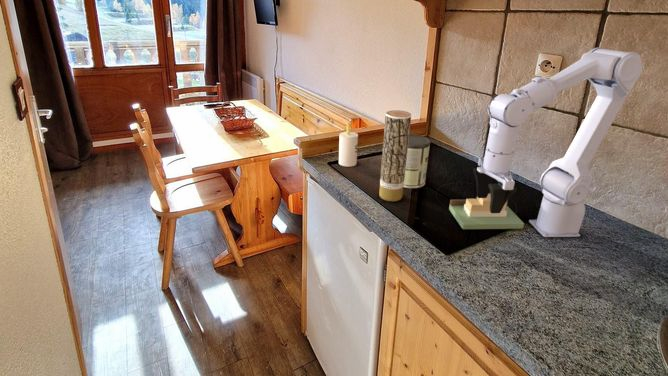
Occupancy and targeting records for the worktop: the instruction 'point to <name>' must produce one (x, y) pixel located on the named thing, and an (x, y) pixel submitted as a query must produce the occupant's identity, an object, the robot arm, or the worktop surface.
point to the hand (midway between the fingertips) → (488, 204)
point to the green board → (483, 218)
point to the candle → (348, 148)
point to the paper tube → (394, 154)
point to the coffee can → (416, 161)
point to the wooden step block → (482, 208)
